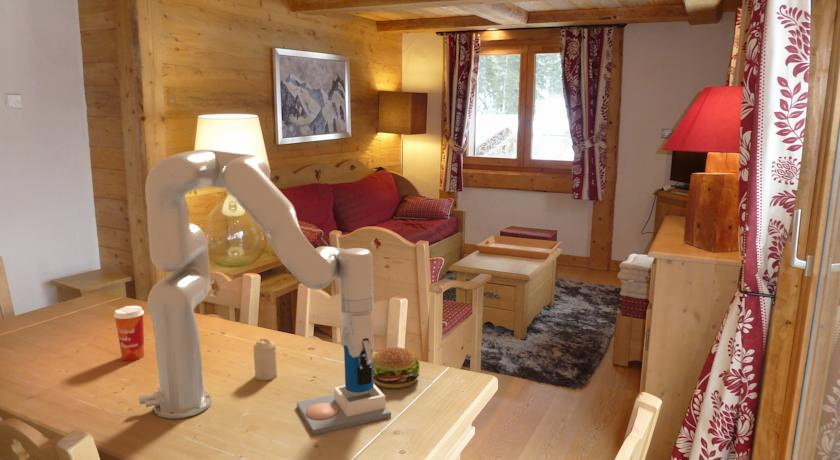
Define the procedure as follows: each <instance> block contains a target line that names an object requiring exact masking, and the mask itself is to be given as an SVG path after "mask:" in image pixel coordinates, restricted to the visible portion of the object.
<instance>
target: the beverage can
mask: <svg viewBox="0 0 840 460" xmlns="http://www.w3.org/2000/svg"><path fill="white" fill-rule="evenodd" d="M346 344H347V343H346ZM343 353H344V354H343V358H344V379H345V380H344V382H345V383H344V385H345V388H346V390H348V391H349V392H350V393H352V394H365V393H367V392H369V391H370V390H371V389H372V388H373V383H374V382H373V360H372V367H371V375H372V382H371V383H369V384H364V385H358V382H357V368H359V366H358V360H357V357H356V358H354V357H352V356H351V355H350V354H349V350H348V347H347V346H346V345H344V348H343ZM362 354H365V353H364V351H361V353H360V355H362ZM372 355H373V356H374V352H373V353H372ZM363 360H365V357H361V361H362V362H363Z"/></svg>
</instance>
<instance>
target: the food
mask: <svg viewBox="0 0 840 460" xmlns="http://www.w3.org/2000/svg"><path fill="white" fill-rule="evenodd" d="M415 356H416V355H415V354H414V353H413V352H412V351H410V350H409V349H407V348H403V347H398V346H393V347H385V348H383V349H380V350H378V351H377V352H376V353H375V354H374V353H373V383H374V384H375V385H376V386H377V387H382V388H386V389H401V388H405V387H409V386H411V385H413V384H414V383H416V380H417V378H418V377H419V376H420V362H419V361H418V360H419V359H418V358H416V357H415Z"/></svg>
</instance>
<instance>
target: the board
mask: <svg viewBox="0 0 840 460" xmlns="http://www.w3.org/2000/svg"><path fill="white" fill-rule="evenodd" d="M333 391H334V393H333V394H330V395H325V396H320V397H314V398H311V399H306V400H301V401H297V402H296V408H297V409H298V411H299V413H300V414H301V416H302V418H303V420H304V421H305V423H306V424H307V427H308V428H309V430H310V431H311V433H312V434H313V436H317V435H320V434H325V433H329V432H334V431H338V430H341V429H347V428H350V427H354V426H359V425H364V424H366V423H371V422H376V421H379V420H384V419H388V418H391V417H392V412H391V410H390V409H389V408H388V407H387V406H386V395H385V394H384V393H383V392H382V391H381V390H380V388H379V386H378V385H376V384H375V383H374V382H373V388H372V389H371V390H370V391H369V392H367V393H365V394H352V393H350V392H349V391H348V390H346V388H345V384H344V385H340V386H339V385H338V386H334V387H333Z"/></svg>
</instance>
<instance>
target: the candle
mask: <svg viewBox="0 0 840 460" xmlns="http://www.w3.org/2000/svg"><path fill="white" fill-rule="evenodd" d="M276 349H277V347H276V343H275V342H274V341H272V340H270V339H266V338H259V340H257V341H256V342H255V343H254V345H253V360H254V361H253V363H254V376H255V377H254V378H255V379H256V380H258V381H262V382H263V381H264V382H265V381H271V380H273V379H275V378H276V377H277V375H278V371H277V369H278V367H277V351H276Z"/></svg>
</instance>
